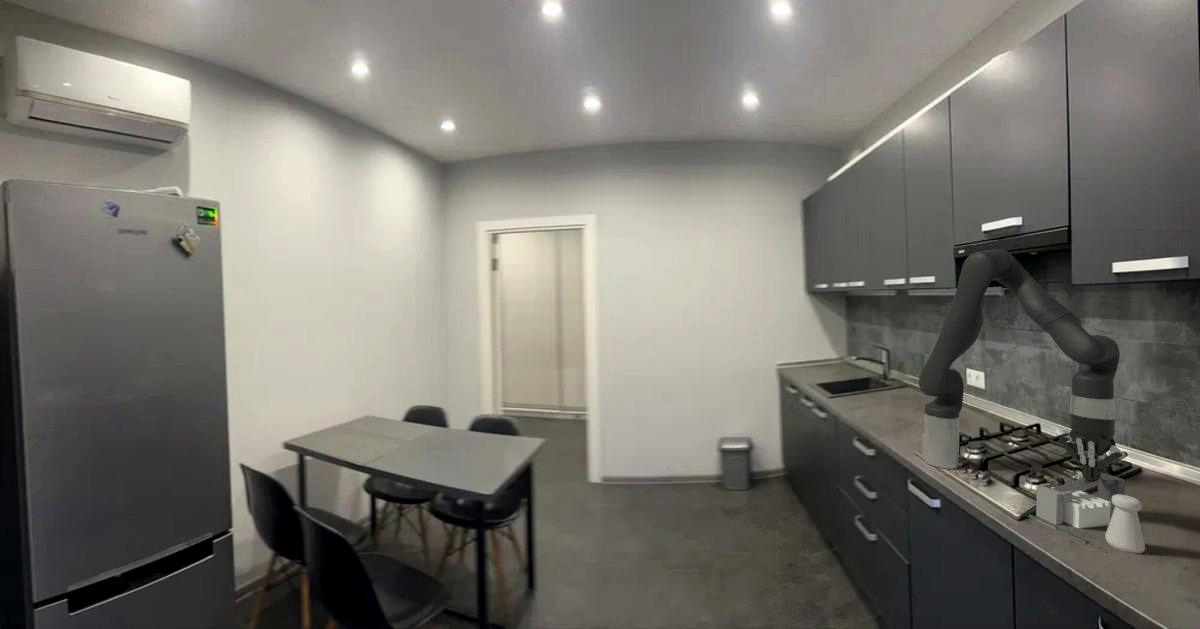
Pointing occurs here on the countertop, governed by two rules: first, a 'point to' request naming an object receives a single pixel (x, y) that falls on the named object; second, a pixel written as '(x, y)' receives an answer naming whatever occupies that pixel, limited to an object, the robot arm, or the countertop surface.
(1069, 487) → the strap
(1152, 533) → the countertop surface
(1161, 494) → the countertop surface
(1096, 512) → the heatsink base
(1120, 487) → the block
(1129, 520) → the salt shaker
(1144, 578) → the countertop surface
